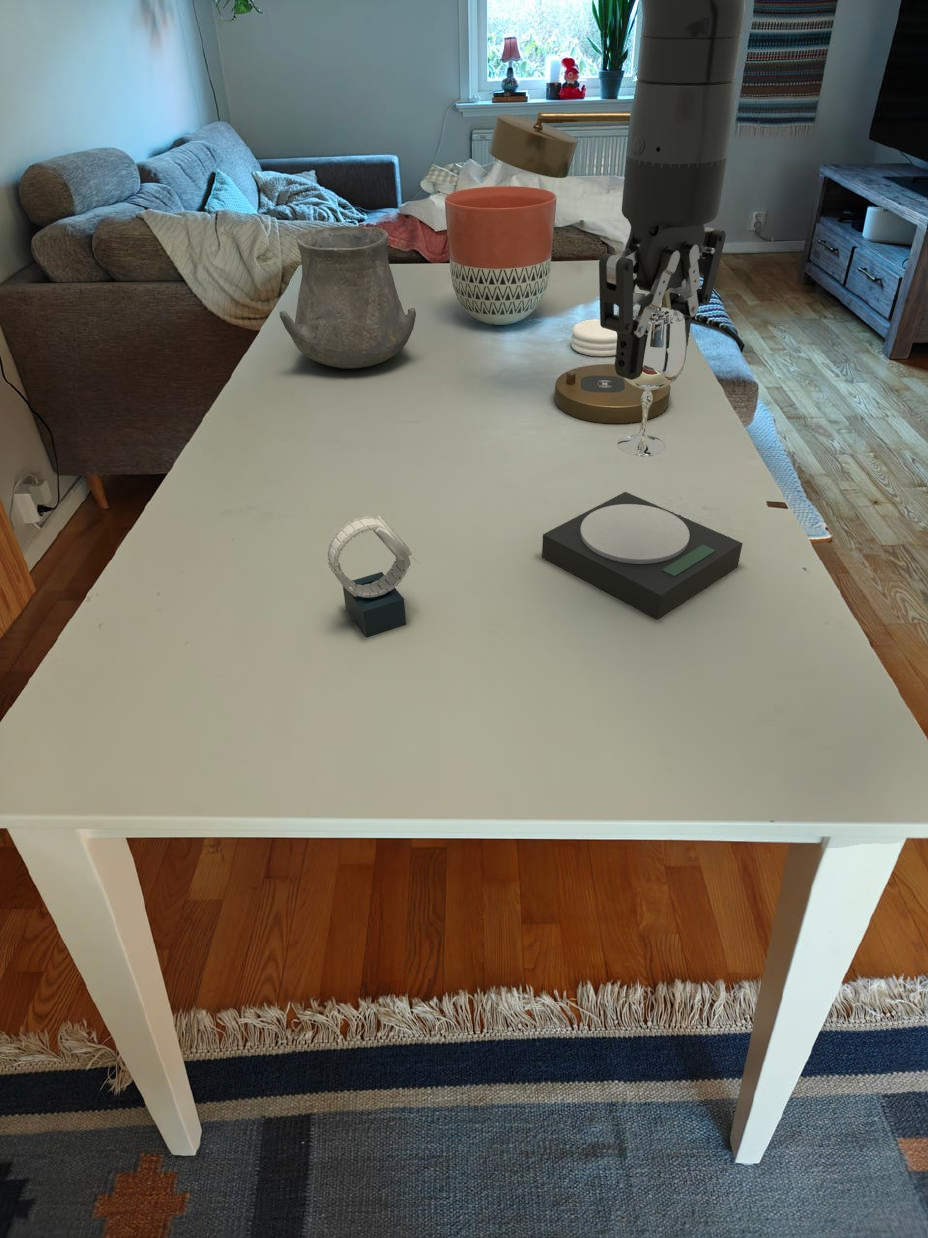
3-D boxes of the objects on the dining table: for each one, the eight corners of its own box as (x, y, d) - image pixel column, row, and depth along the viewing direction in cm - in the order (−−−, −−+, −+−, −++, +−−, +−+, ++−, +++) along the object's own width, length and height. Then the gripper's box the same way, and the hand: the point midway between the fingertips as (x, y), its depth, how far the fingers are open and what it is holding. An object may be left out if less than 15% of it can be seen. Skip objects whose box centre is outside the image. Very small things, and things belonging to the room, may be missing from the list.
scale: (738, 566, 92) (743, 538, 90) (657, 619, 85) (661, 590, 83) (623, 513, 102) (625, 486, 100) (541, 557, 95) (542, 529, 92)
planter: (428, 319, 163) (422, 196, 150) (506, 299, 172) (507, 181, 159) (492, 345, 150) (492, 213, 137) (573, 322, 159) (579, 196, 147)
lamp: (495, 377, 138) (494, 105, 115) (664, 380, 135) (698, 102, 112) (484, 420, 124) (481, 121, 102) (672, 425, 121) (712, 119, 99)
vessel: (412, 332, 157) (405, 214, 145) (421, 376, 139) (414, 246, 127) (293, 339, 155) (276, 221, 143) (287, 385, 137) (267, 254, 125)
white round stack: (614, 361, 143) (616, 340, 140) (561, 351, 147) (562, 331, 145) (637, 343, 149) (639, 323, 147) (586, 334, 154) (587, 314, 152)
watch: (423, 618, 86) (417, 523, 79) (349, 642, 83) (336, 546, 76) (400, 590, 90) (393, 498, 83) (329, 612, 87) (315, 519, 80)
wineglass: (605, 455, 78) (617, 323, 70) (614, 429, 82) (626, 302, 75) (669, 462, 76) (688, 328, 69) (675, 435, 81) (693, 307, 73)
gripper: (659, 169, 58) (633, 402, 69) (772, 144, 66) (734, 357, 76) (576, 156, 63) (563, 377, 73) (691, 134, 71) (665, 337, 81)
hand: (650, 366), depth 75 cm, fingers closed on wineglass, 5 cm apart
